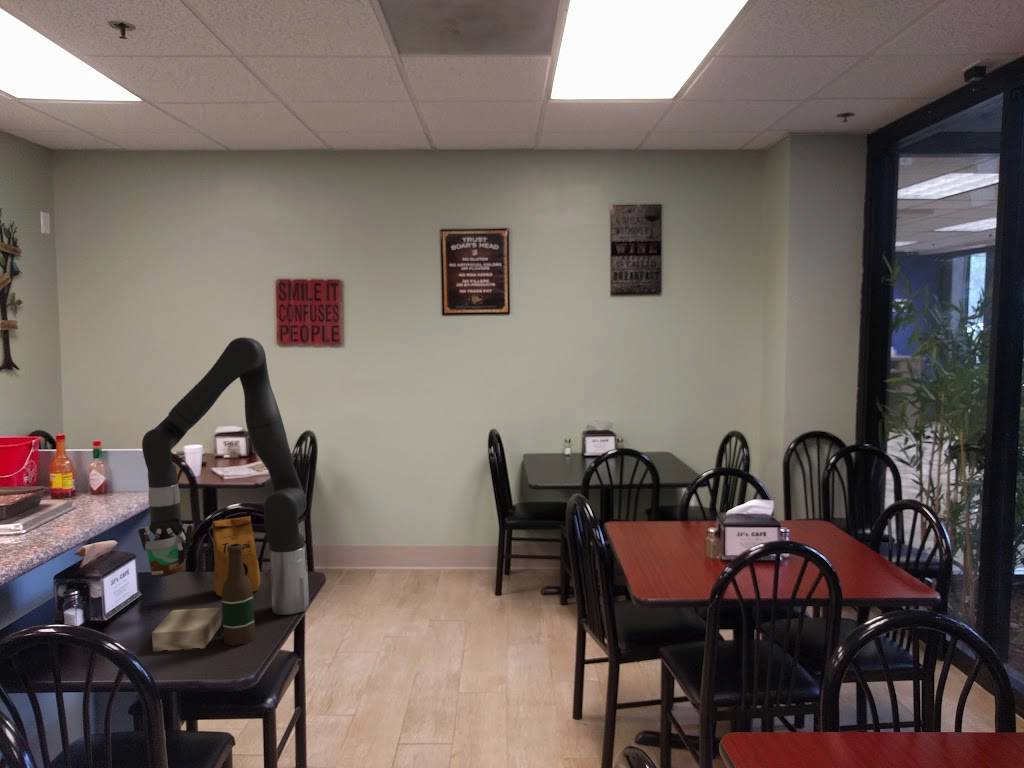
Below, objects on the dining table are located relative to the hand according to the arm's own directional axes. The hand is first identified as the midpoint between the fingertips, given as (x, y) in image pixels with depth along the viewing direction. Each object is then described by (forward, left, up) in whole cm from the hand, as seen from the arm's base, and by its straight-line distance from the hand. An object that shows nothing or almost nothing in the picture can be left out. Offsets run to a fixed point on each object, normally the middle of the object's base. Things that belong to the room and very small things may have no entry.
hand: (169, 563), depth 198 cm
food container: (-1, 0, -2) cm, 3 cm away
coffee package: (-13, -16, -15) cm, 25 cm away
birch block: (-9, +15, -15) cm, 23 cm away
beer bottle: (-22, +18, -15) cm, 32 cm away
